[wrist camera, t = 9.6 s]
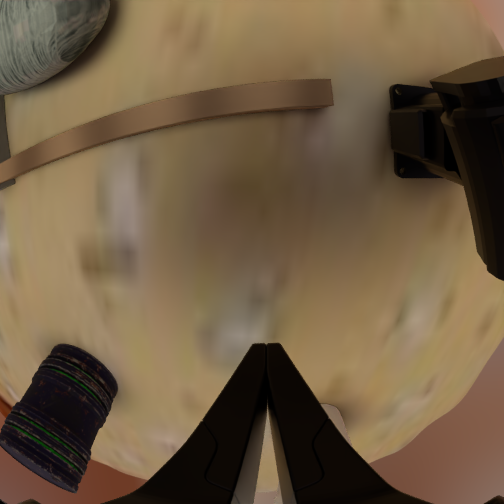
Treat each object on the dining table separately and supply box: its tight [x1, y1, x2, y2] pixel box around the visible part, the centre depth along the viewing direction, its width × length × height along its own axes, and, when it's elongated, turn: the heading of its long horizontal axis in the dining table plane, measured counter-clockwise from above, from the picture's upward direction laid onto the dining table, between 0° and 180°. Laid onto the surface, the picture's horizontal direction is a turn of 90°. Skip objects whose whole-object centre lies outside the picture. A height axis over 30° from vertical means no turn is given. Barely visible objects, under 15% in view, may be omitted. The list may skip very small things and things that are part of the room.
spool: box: [0, 0, 110, 95], centre depth 10 cm, size 14×10×10 cm
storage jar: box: [0, 344, 118, 493], centre depth 22 cm, size 10×10×15 cm
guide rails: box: [0, 79, 334, 184], centre depth 12 cm, size 26×21×3 cm
